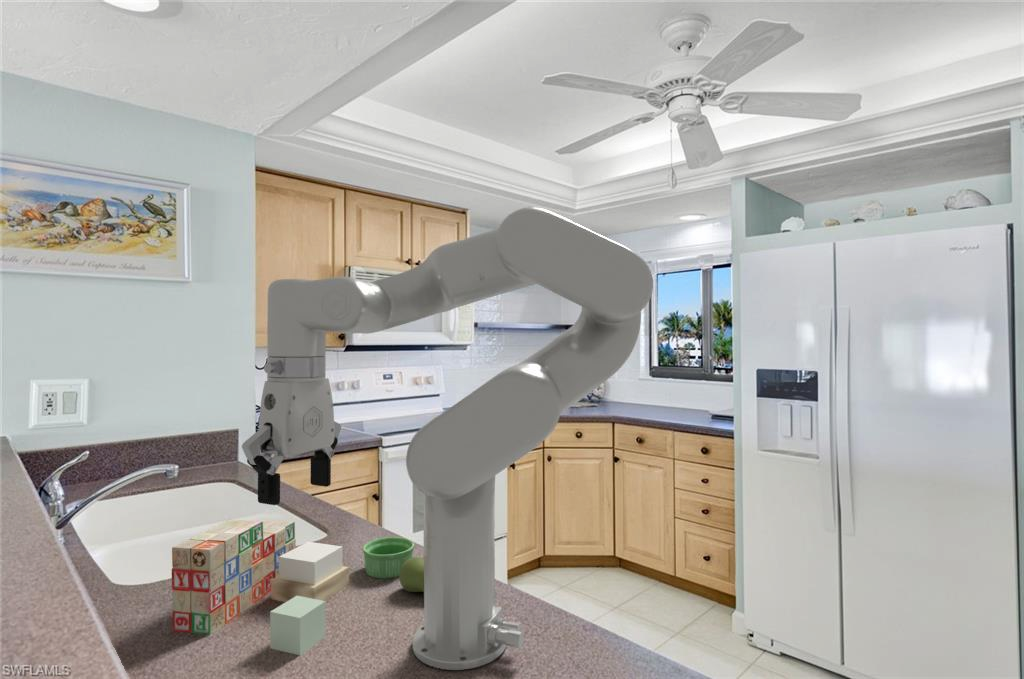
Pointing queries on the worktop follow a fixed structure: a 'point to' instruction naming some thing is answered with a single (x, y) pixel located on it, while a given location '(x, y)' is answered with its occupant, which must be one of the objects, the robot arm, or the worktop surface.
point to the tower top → (310, 562)
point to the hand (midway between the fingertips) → (296, 493)
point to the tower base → (310, 587)
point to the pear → (412, 575)
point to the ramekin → (387, 556)
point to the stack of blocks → (226, 571)
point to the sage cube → (297, 625)
